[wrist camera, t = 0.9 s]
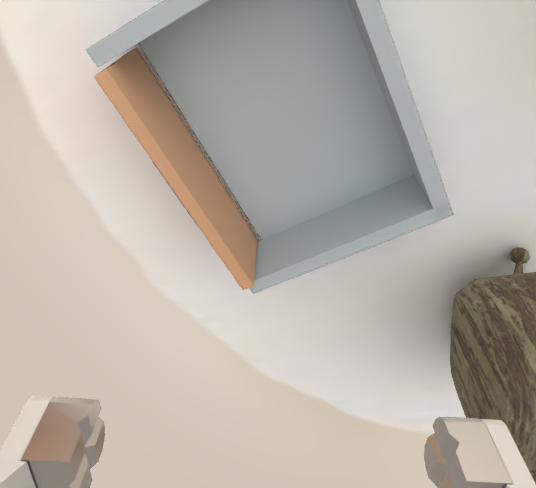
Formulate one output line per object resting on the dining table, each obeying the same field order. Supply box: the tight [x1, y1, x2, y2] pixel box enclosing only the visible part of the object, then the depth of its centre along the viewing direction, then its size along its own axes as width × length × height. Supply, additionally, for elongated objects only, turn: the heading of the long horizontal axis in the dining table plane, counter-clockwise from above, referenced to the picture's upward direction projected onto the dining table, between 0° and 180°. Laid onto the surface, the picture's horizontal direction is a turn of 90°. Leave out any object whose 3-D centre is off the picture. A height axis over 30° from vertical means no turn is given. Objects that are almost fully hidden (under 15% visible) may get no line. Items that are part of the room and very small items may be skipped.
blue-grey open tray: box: [86, 0, 453, 294], centre depth 35 cm, size 17×22×7 cm
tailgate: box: [94, 48, 257, 290], centre depth 36 cm, size 1×19×7 cm, turn 28°
